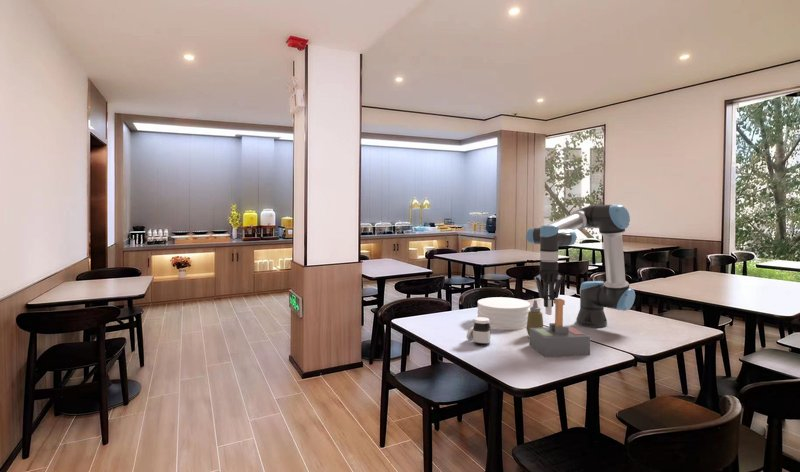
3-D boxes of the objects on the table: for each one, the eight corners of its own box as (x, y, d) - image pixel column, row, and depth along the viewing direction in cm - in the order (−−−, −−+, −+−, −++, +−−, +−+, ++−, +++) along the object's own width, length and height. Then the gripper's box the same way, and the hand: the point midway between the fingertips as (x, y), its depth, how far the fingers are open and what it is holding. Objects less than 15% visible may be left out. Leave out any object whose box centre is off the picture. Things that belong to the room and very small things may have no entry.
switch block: (570, 343, 196) (571, 319, 195) (589, 354, 180) (590, 329, 179) (529, 345, 194) (529, 321, 193) (545, 357, 178) (545, 331, 177)
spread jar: (488, 347, 191) (488, 322, 190) (463, 345, 195) (463, 320, 194) (492, 340, 202) (492, 316, 201) (468, 337, 206) (468, 314, 205)
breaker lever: (559, 330, 189) (560, 298, 188) (564, 332, 185) (564, 300, 184) (553, 330, 188) (553, 298, 187) (557, 332, 184) (558, 300, 183)
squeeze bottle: (534, 340, 201) (535, 302, 200) (522, 335, 208) (523, 299, 207) (547, 337, 205) (547, 301, 204) (534, 333, 212) (535, 297, 211)
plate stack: (540, 324, 229) (541, 303, 228) (505, 333, 213) (505, 310, 213) (501, 314, 252) (501, 295, 251) (467, 321, 236) (467, 301, 236)
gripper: (559, 259, 188) (558, 311, 190) (531, 260, 187) (530, 312, 188) (567, 261, 181) (566, 315, 182) (538, 262, 180) (537, 316, 181)
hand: (548, 314), depth 185 cm, fingers closed
